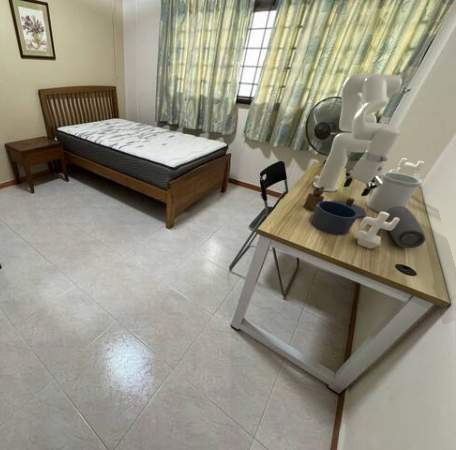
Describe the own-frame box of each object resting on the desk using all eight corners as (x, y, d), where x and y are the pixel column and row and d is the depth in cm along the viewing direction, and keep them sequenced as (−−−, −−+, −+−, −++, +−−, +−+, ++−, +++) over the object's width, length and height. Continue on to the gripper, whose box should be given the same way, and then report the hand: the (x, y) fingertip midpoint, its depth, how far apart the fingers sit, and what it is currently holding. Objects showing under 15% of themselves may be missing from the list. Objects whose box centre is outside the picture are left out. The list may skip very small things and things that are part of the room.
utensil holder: (362, 208, 125) (381, 176, 115) (366, 199, 134) (384, 169, 124) (399, 219, 117) (423, 186, 107) (400, 208, 126) (422, 177, 116)
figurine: (351, 235, 104) (370, 205, 95) (379, 244, 99) (401, 213, 90) (350, 243, 99) (369, 212, 91) (378, 253, 94) (401, 221, 86)
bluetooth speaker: (377, 220, 115) (389, 202, 109) (402, 226, 111) (416, 208, 106) (387, 245, 98) (401, 225, 93) (416, 253, 95) (433, 233, 89)
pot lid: (320, 203, 127) (325, 193, 124) (343, 201, 131) (349, 190, 128) (347, 220, 114) (353, 208, 111) (372, 216, 118) (379, 205, 115)
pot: (302, 218, 115) (309, 202, 110) (328, 214, 118) (336, 199, 113) (329, 236, 102) (338, 220, 98) (356, 232, 106) (366, 216, 101)
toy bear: (303, 206, 125) (312, 185, 118) (310, 205, 126) (320, 184, 119) (310, 211, 121) (320, 189, 114) (318, 210, 122) (328, 188, 115)
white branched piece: (412, 192, 143) (435, 160, 132) (413, 200, 134) (437, 166, 123) (373, 183, 153) (391, 152, 142) (371, 190, 144) (390, 157, 133)
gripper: (400, 163, 102) (377, 198, 112) (362, 150, 115) (345, 182, 125) (387, 164, 100) (365, 200, 110) (350, 151, 114) (333, 184, 124)
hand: (354, 191), depth 118 cm, fingers open, 9 cm apart
